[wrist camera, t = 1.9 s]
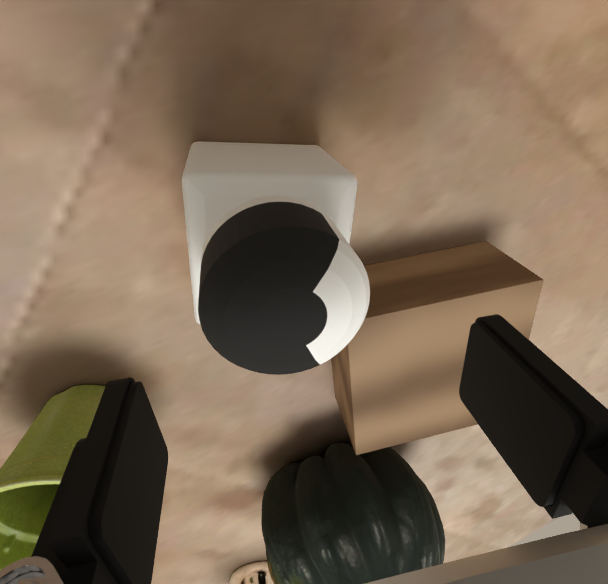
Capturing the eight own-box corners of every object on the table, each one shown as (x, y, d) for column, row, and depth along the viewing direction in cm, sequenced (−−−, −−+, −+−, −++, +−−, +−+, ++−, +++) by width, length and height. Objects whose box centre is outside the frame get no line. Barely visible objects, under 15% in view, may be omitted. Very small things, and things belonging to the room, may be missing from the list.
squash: (253, 470, 27) (292, 744, 23) (447, 425, 30) (514, 662, 25) (251, 452, 40) (275, 622, 36) (385, 423, 43) (422, 577, 39)
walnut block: (321, 272, 26) (346, 322, 21) (483, 239, 28) (543, 279, 23) (334, 394, 33) (356, 455, 28) (465, 363, 34) (509, 416, 29)
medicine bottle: (200, 261, 24) (189, 407, 14) (190, 140, 20) (165, 218, 10) (312, 258, 25) (375, 388, 15) (321, 144, 22) (411, 216, 12)
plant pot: (171, 373, 28) (156, 484, 21) (150, 458, 32) (130, 576, 25) (21, 354, 25) (-59, 477, 18) (18, 451, 29) (-48, 583, 22)
